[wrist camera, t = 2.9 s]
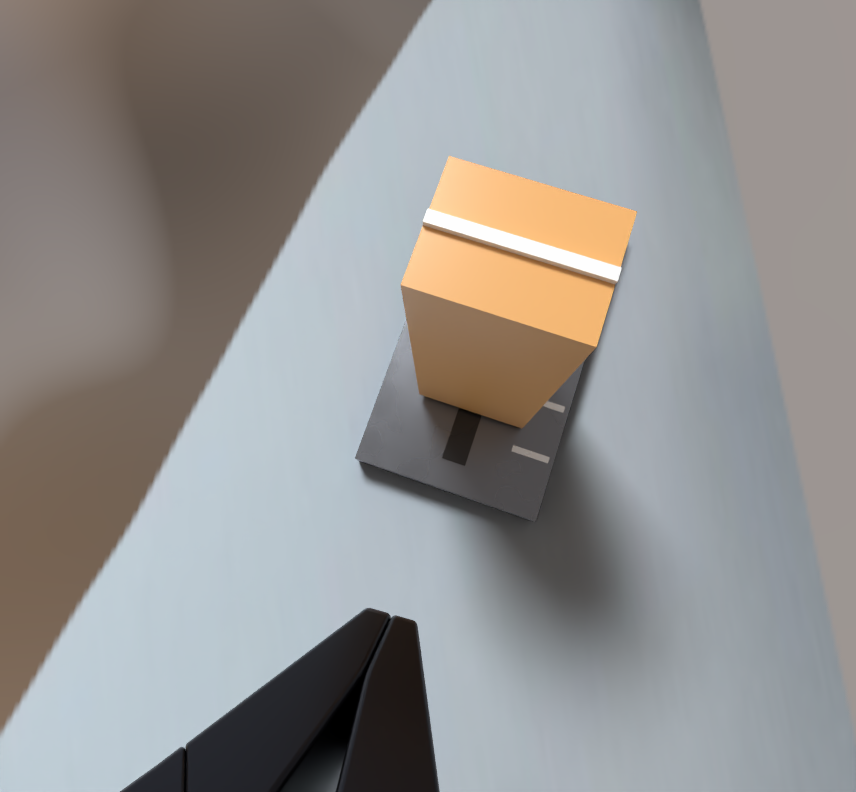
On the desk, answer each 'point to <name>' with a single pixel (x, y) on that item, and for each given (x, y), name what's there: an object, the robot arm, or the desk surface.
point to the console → (463, 441)
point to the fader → (508, 289)
